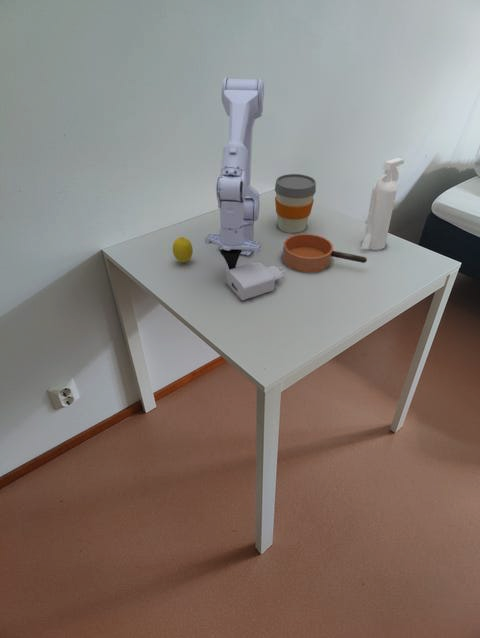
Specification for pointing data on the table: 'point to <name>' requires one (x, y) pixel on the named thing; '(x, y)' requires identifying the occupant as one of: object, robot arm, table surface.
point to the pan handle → (348, 256)
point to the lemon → (182, 249)
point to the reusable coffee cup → (294, 201)
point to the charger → (253, 279)
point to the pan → (307, 253)
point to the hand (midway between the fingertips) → (232, 271)
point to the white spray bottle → (381, 206)
